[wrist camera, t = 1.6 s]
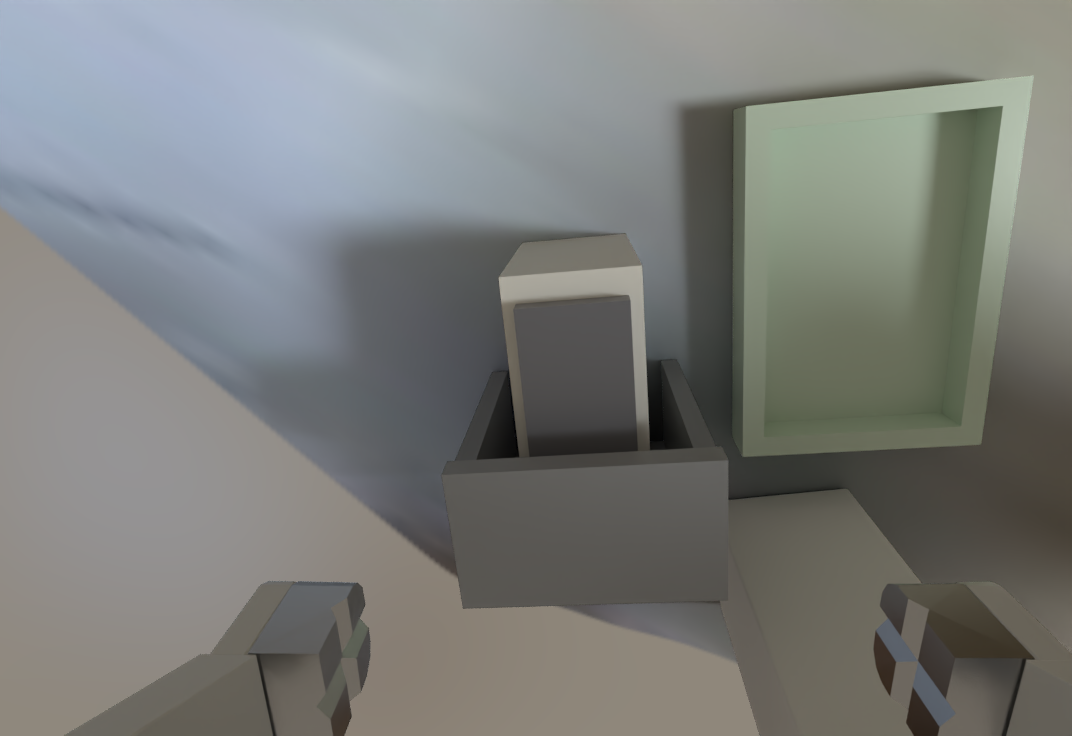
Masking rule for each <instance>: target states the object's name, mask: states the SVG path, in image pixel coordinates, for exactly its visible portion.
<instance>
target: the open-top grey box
mask: <svg viewBox="0 0 1072 736" xmlns="http://www.w3.org/2000/svg"><path fill="white" fill-rule="evenodd" d="M661 375H662V404H663V433H664V441H652V442H650V451H631V452H613V453H594V454H575V455H557V456H538V457H520V458H519V450H518V449H516V440H515V432H514V423H513V415H512V406H511V398H510V389H509V380H508V372H507V371H500V372H492V374H491V376H490V379H489V381H488V383H487V386H486V388H485V390H484V393H483V395H482V398H481V400H480V402H479V405H478V407H477V410H476V412H475V414H474V417H473V419H472V421H471V424H470V426H469V429H468V431H467V433H466V436H465V438H464V440H463V443H462V445H461V448H460V450H459V452H458V455H457V457H456V460H455V461H447V464H446V466H445V468H444V470H443V473H442V475H441V476H442V482H443V488H444V494H445V501H446V507H447V513H448V519H449V525H450V532H451V538H452V544H453V550H454V556H455V562H456V569H457V575H458V581H459V587H460V592H461V599H462V605H463V609H465V608H498V607H530V606H531V607H532V606H566V605H600V604H633V603H667V602H700V601H728V458H727V456H726V454H725V452H724V450H723V448H722V447H716V445H715V443H714V441H713V439H712V436H711V434H710V432H709V430H708V427H707V425H706V423H705V421H704V419H703V416H702V414H701V412H700V410H699V407H698V405H697V403H696V401H695V399H694V396H693V394H692V392H691V390H690V387H689V385H688V383H687V381H686V378H685V376H684V374H683V372H682V370H681V367H680V365H679V363H678V361H677V360H662V361H661Z"/></svg>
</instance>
